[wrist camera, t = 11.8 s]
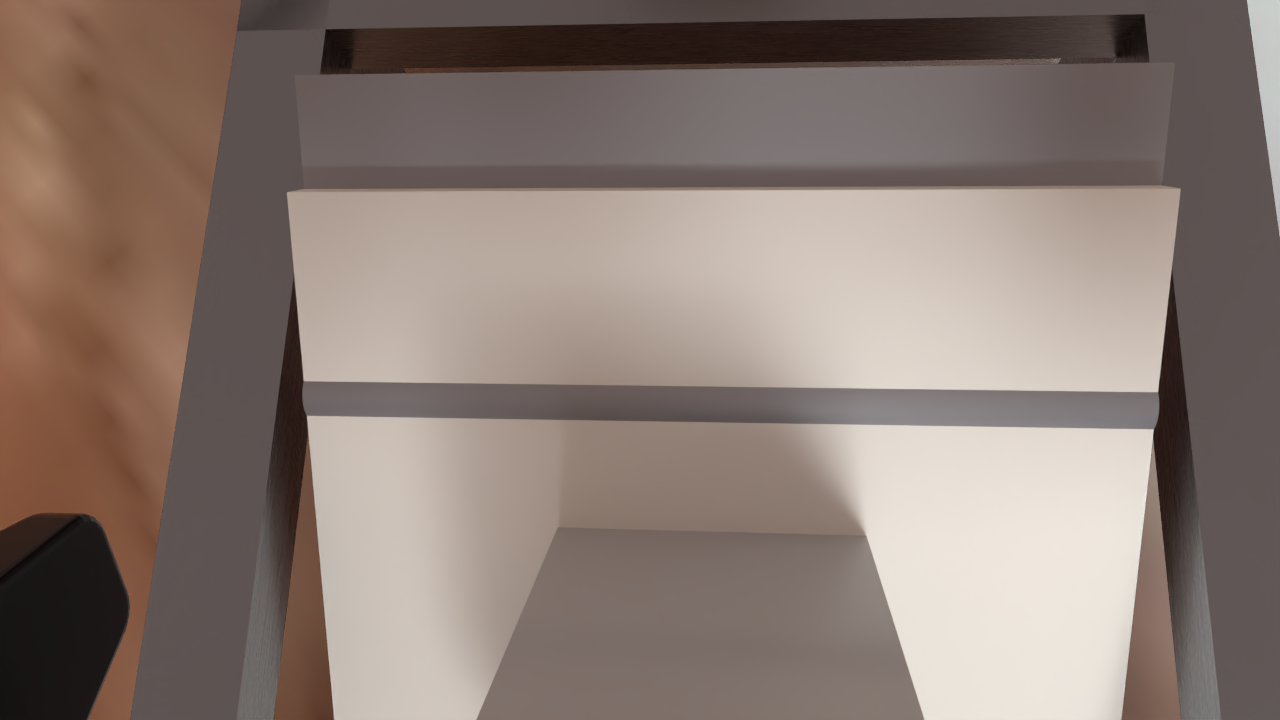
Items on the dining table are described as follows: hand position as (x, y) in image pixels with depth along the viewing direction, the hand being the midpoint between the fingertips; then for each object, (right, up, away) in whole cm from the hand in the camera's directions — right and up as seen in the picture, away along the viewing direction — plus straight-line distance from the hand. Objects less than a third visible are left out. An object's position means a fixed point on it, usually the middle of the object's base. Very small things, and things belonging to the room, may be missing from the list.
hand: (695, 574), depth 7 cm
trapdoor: (+1, 0, +10) cm, 10 cm away
